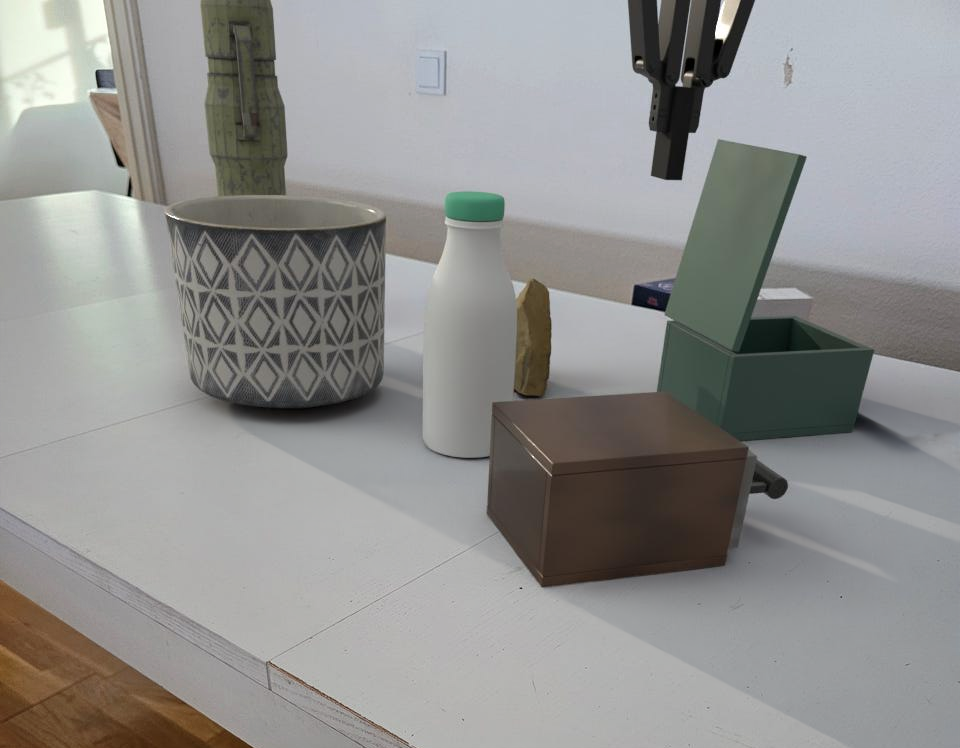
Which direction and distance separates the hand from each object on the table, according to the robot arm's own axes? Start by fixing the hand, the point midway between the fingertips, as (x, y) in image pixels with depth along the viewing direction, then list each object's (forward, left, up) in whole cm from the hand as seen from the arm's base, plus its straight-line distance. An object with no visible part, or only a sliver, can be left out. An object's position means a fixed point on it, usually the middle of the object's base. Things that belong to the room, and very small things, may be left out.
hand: (666, 177), depth 77 cm
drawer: (+9, +22, -20) cm, 31 cm away
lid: (-7, 0, -5) cm, 9 cm away
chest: (-13, 0, -21) cm, 25 cm away
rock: (+7, -14, -21) cm, 26 cm away
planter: (+30, -15, -21) cm, 40 cm away
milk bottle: (+17, +2, -21) cm, 27 cm away
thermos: (+29, -47, -21) cm, 59 cm away
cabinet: (+13, +22, -21) cm, 33 cm away
